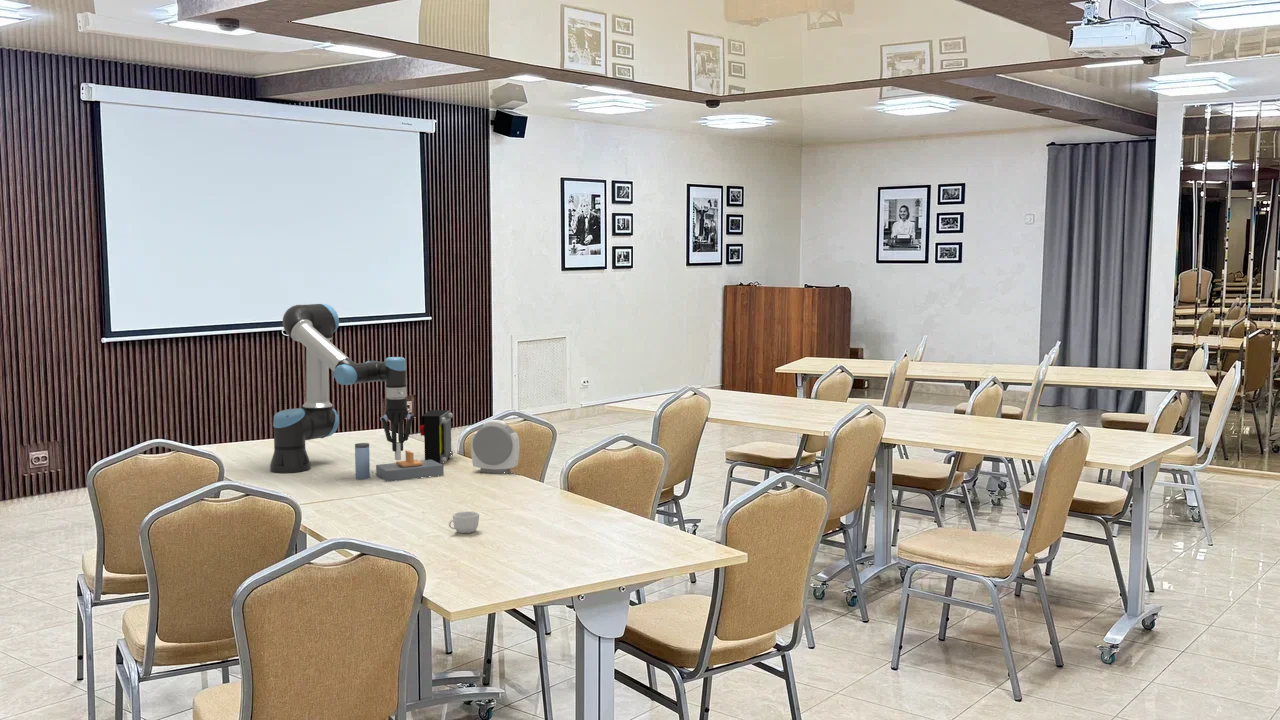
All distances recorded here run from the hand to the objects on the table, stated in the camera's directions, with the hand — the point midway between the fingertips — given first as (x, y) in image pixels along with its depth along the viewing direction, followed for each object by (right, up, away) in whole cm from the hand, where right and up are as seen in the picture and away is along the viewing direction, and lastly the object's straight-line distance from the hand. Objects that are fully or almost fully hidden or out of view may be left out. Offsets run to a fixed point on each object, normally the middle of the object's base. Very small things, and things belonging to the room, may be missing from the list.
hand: (397, 459), depth 397 cm
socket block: (+4, -6, +3) cm, 8 cm away
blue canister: (-13, -7, -2) cm, 15 cm away
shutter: (+4, -2, +3) cm, 5 cm away
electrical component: (+9, -4, +32) cm, 34 cm away
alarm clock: (+36, -6, +10) cm, 38 cm away
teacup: (+39, -14, -83) cm, 93 cm away
